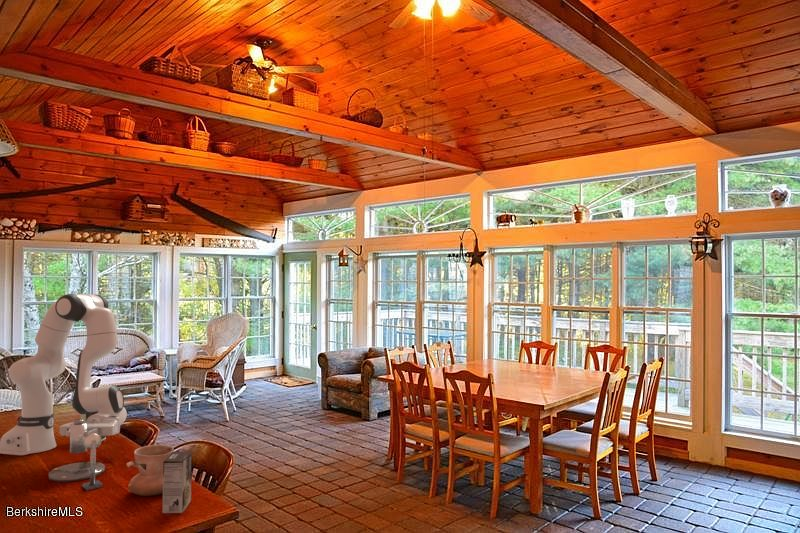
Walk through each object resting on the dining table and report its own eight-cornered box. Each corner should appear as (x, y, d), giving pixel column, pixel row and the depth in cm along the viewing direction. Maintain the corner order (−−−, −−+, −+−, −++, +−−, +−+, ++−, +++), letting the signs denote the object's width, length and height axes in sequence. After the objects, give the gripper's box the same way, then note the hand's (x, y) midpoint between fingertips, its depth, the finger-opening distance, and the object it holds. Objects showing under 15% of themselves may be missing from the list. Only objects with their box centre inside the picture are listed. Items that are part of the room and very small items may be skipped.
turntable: (36, 481, 197) (37, 477, 197) (67, 464, 215) (68, 460, 215) (87, 482, 197) (87, 478, 197) (114, 465, 215) (114, 461, 215)
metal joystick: (102, 486, 193) (103, 434, 193) (86, 490, 189) (87, 437, 190) (98, 482, 196) (99, 431, 197) (82, 486, 193) (83, 434, 193)
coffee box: (171, 501, 181) (172, 451, 181) (191, 501, 181) (192, 451, 182) (161, 513, 172) (162, 460, 172) (182, 513, 172) (184, 460, 172)
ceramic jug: (130, 504, 178) (132, 459, 179) (119, 490, 189) (121, 448, 190) (188, 492, 189) (189, 450, 190) (174, 479, 201) (176, 440, 201)
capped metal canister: (66, 453, 204) (67, 421, 204) (75, 449, 209) (75, 418, 209) (81, 453, 203) (82, 421, 204) (90, 449, 209) (90, 418, 209)
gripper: (72, 416, 220) (49, 425, 206) (123, 416, 219) (104, 425, 205) (71, 432, 219) (49, 443, 206) (123, 432, 219) (104, 443, 205)
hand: (77, 434), depth 206 cm, fingers closed on capped metal canister, 5 cm apart
